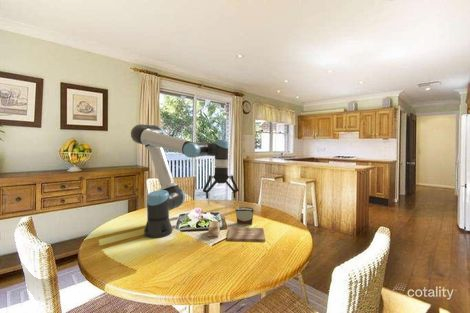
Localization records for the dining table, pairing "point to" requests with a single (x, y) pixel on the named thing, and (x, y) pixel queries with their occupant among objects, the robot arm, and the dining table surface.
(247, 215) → the food container
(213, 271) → the dining table surface
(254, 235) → the board
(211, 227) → the sanding block
